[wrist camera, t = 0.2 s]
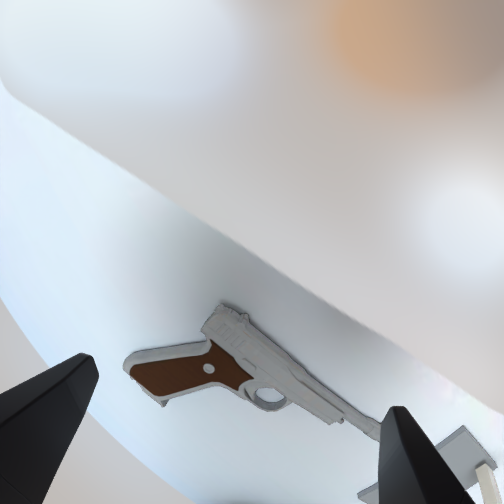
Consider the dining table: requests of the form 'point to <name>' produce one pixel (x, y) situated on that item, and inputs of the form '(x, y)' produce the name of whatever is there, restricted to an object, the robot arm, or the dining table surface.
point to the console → (451, 462)
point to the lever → (488, 485)
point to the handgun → (238, 371)
